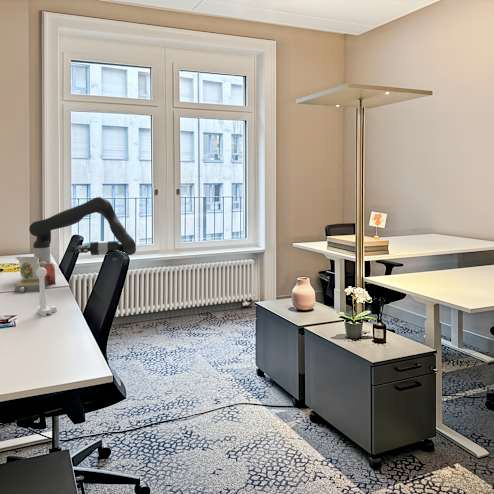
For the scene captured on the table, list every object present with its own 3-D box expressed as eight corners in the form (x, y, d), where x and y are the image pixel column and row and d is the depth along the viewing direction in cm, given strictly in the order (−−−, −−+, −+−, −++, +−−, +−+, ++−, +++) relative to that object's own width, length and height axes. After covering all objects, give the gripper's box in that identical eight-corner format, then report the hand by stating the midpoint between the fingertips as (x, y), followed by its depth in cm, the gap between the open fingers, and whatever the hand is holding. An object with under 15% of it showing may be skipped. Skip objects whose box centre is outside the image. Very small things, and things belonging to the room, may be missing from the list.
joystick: (35, 311, 225) (33, 266, 222) (53, 308, 229) (51, 264, 226) (40, 316, 216) (37, 269, 213) (59, 314, 220) (56, 267, 217)
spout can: (45, 283, 287) (44, 257, 285) (56, 282, 288) (54, 256, 286) (43, 285, 282) (42, 258, 280) (54, 284, 283) (53, 258, 281)
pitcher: (45, 282, 290) (43, 258, 289) (12, 282, 289) (11, 258, 288) (51, 278, 301) (50, 255, 300) (20, 279, 300) (18, 255, 299)
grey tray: (21, 287, 277) (20, 279, 276) (48, 285, 280) (47, 278, 279) (13, 293, 261) (12, 285, 261) (42, 292, 264) (42, 284, 264)
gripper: (100, 240, 294) (70, 241, 291) (98, 243, 280) (66, 244, 277) (101, 253, 295) (71, 254, 292) (98, 256, 281) (67, 258, 278)
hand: (69, 249), depth 285 cm, fingers open, 8 cm apart
